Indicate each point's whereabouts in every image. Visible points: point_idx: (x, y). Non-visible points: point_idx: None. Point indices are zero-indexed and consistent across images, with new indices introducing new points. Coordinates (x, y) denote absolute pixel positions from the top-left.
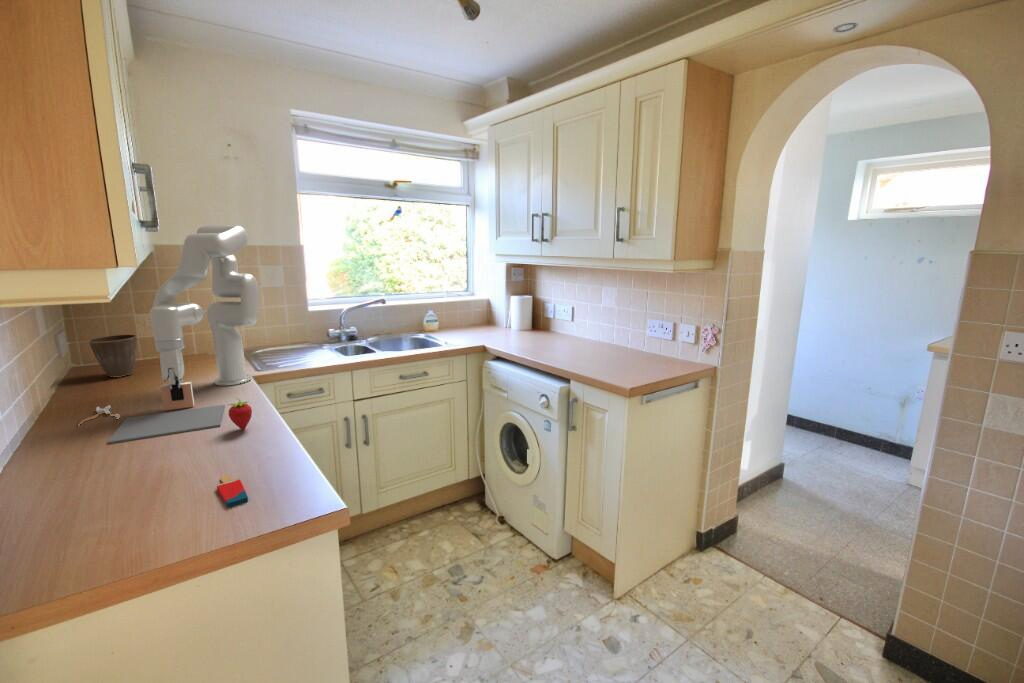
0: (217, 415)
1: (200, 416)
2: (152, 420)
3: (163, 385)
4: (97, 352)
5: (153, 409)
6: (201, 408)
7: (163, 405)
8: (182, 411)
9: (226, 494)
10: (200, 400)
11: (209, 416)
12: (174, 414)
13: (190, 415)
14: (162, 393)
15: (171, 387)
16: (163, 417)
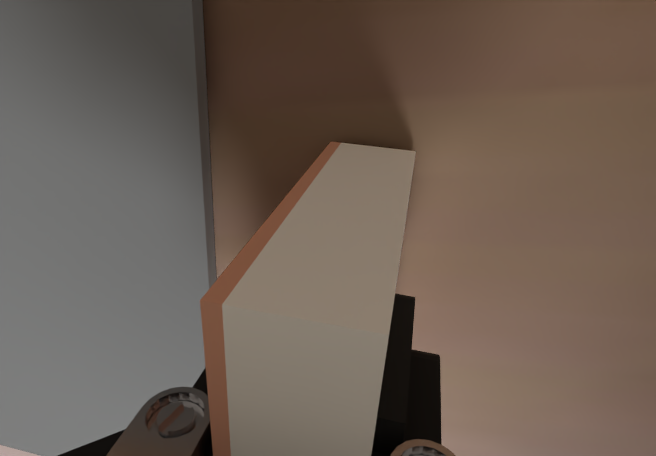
0: (9, 431)
1: (14, 364)
2: (1, 62)
3: (325, 359)
4: None
5: (503, 17)
6: None
7: (315, 161)
8: (174, 285)
9: None
10: (516, 420)
11: (2, 399)
12: (114, 229)
13: (52, 320)
14: (261, 242)
15: (135, 433)
16: (60, 149)
